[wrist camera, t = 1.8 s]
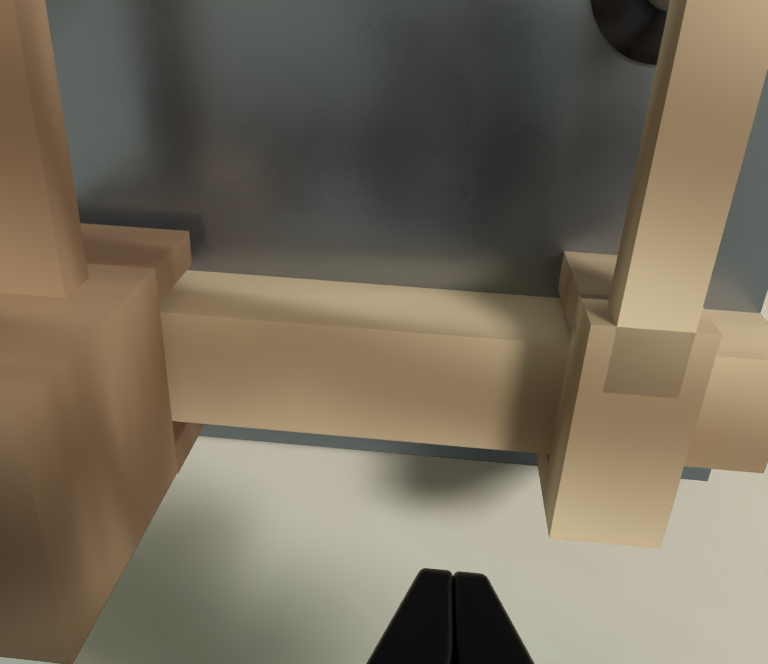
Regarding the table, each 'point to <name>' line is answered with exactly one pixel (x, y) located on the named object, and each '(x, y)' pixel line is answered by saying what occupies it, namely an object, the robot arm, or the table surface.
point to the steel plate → (381, 145)
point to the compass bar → (533, 327)
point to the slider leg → (72, 369)
